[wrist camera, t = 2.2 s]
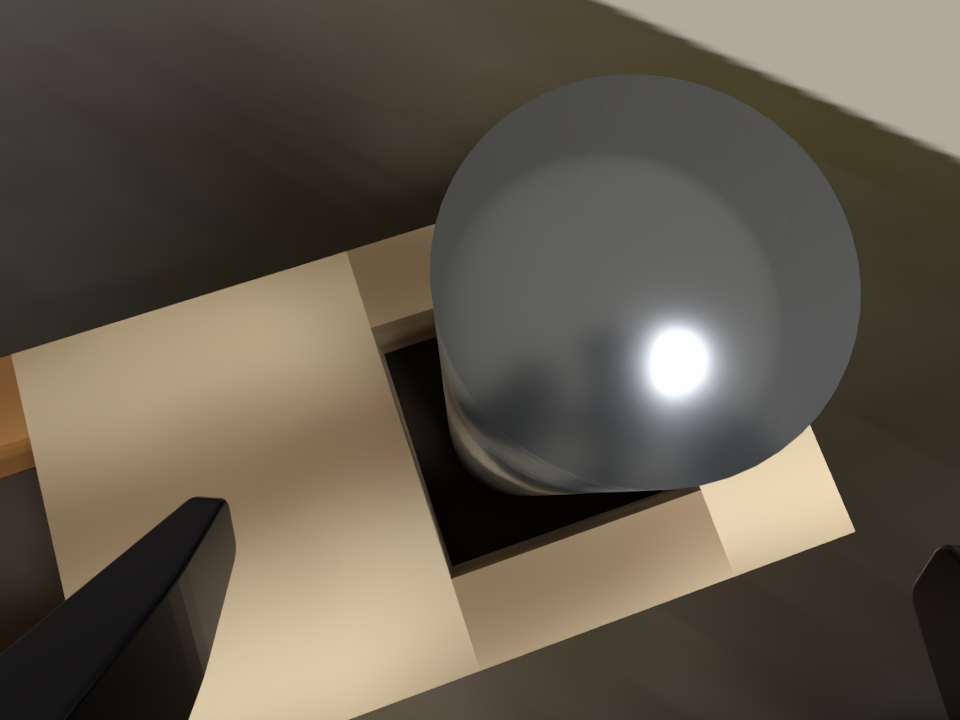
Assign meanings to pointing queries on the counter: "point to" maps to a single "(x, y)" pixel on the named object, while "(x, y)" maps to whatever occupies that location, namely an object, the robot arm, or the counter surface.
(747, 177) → the steel peg
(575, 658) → the counter surface
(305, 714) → the rail board
